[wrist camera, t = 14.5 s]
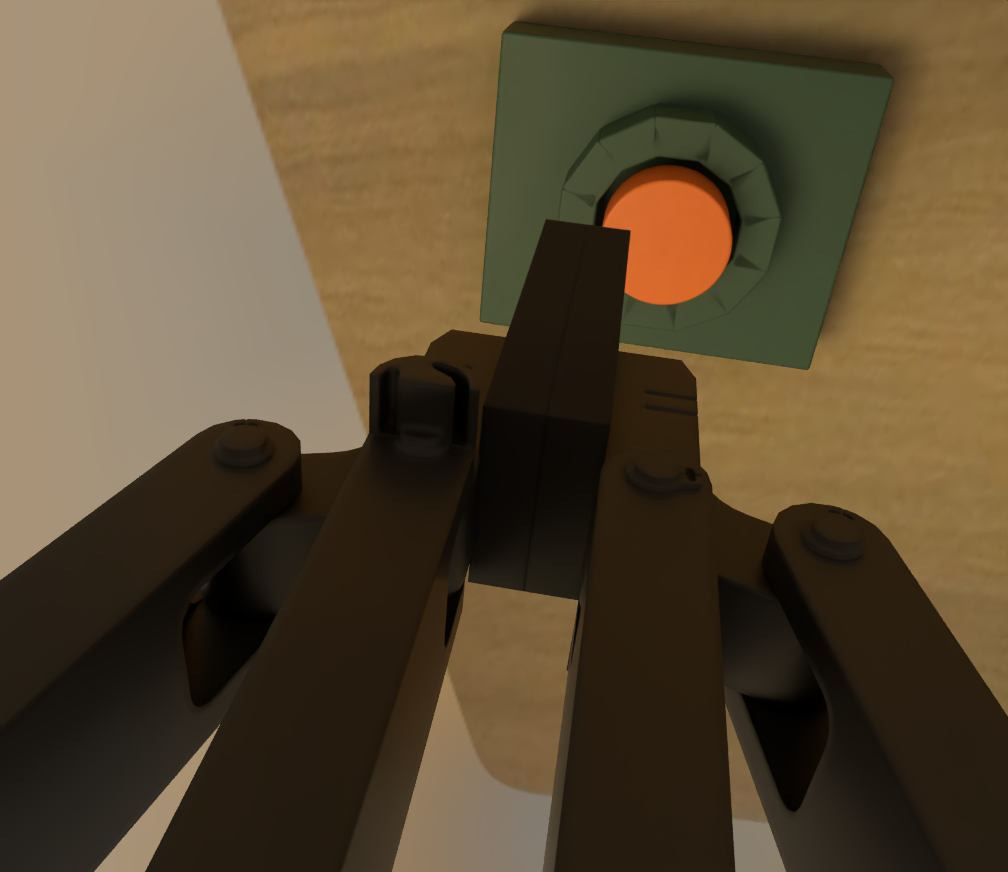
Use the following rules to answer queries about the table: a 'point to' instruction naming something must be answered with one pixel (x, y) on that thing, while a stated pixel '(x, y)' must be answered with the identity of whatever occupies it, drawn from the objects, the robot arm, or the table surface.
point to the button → (671, 233)
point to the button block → (699, 146)
